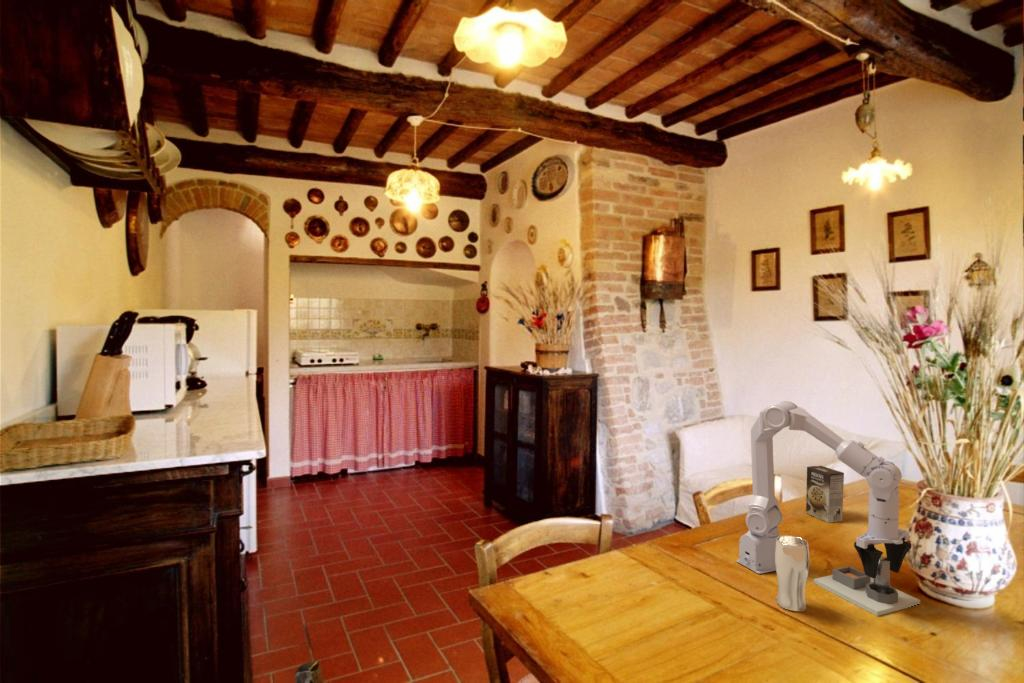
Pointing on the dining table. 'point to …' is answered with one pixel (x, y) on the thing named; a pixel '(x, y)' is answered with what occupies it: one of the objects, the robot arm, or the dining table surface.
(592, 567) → the dining table surface
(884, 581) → the metal cylinder
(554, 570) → the dining table surface
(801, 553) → the beer glass
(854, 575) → the button
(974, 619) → the dining table surface
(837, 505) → the coffee box
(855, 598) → the panel
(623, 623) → the dining table surface
